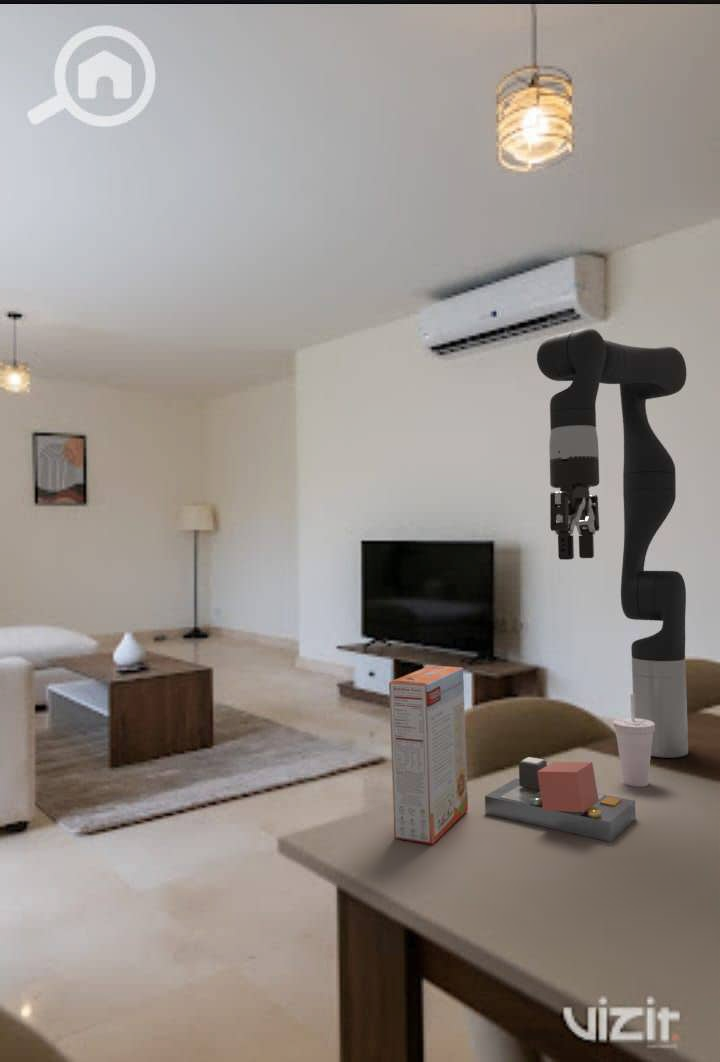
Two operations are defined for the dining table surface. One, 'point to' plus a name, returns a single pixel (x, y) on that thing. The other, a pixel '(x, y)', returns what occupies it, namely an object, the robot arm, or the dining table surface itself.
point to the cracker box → (428, 752)
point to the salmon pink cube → (567, 786)
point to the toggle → (530, 772)
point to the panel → (561, 812)
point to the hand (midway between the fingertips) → (576, 558)
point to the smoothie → (634, 747)
